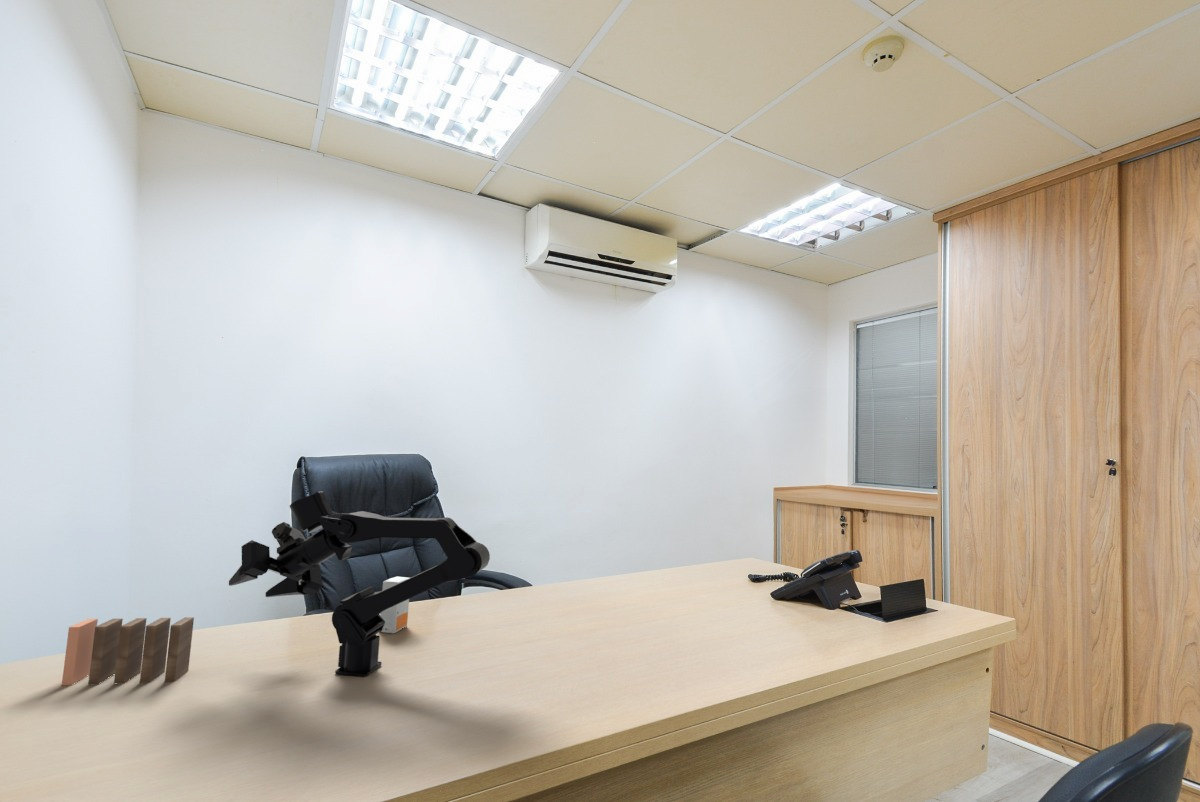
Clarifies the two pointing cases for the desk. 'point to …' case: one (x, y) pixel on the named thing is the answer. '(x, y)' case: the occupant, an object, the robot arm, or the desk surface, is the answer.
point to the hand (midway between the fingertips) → (248, 589)
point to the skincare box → (395, 610)
